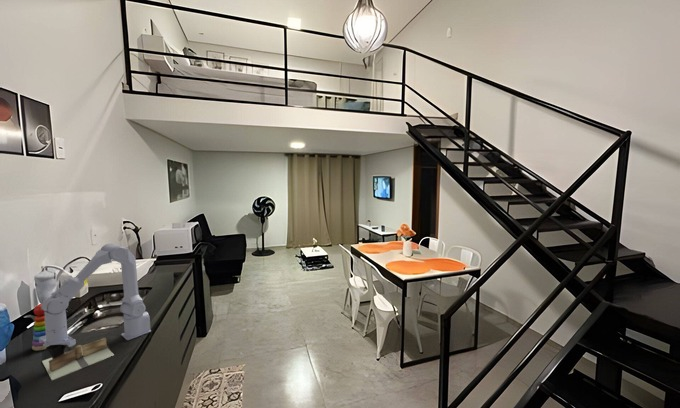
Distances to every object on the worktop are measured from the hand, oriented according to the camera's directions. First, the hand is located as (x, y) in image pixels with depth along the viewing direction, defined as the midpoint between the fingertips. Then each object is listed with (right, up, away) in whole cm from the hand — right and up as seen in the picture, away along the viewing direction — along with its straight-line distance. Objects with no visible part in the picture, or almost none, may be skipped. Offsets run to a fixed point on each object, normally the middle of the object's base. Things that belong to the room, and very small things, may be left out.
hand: (58, 361), depth 107 cm
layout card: (+3, -2, +5) cm, 6 cm away
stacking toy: (-19, -1, +14) cm, 24 cm away
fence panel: (+1, -1, 0) cm, 2 cm away
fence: (+5, -1, +8) cm, 10 cm away
